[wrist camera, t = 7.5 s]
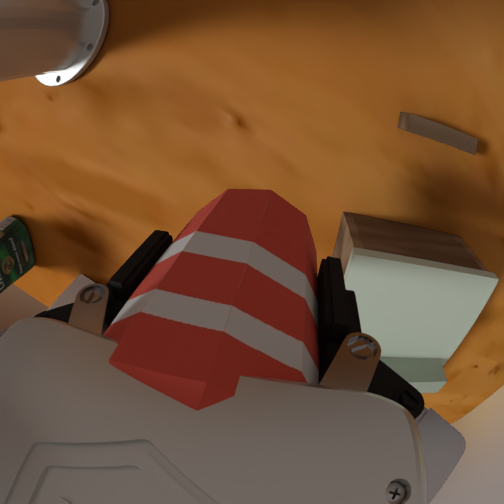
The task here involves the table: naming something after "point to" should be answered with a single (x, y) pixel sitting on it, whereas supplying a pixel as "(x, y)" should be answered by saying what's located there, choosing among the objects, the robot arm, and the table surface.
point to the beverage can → (225, 303)
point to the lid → (416, 310)
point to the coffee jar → (14, 251)
